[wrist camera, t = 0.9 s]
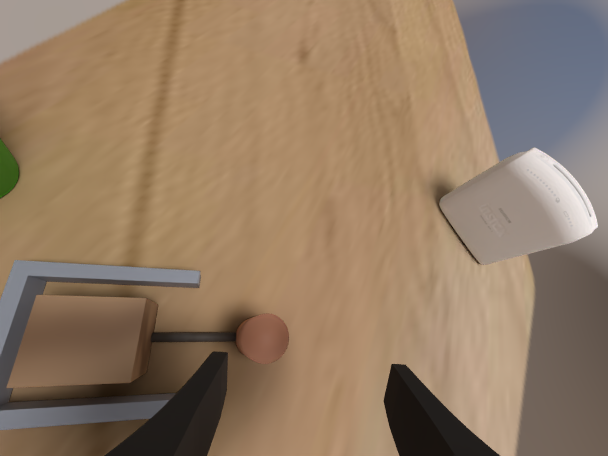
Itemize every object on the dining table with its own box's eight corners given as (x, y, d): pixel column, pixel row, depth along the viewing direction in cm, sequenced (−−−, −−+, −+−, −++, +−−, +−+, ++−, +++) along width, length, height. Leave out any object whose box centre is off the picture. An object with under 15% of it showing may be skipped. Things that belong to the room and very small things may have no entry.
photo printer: (431, 202, 37) (528, 145, 25) (451, 190, 38) (549, 132, 27) (479, 271, 35) (604, 243, 24) (497, 255, 37) (620, 222, 26)
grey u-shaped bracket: (184, 407, 22) (181, 416, 19) (-17, 421, 18) (-49, 433, 16) (200, 276, 25) (199, 270, 23) (34, 267, 22) (14, 260, 19)
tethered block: (270, 367, 24) (288, 377, 19) (51, 375, 20) (-7, 391, 14) (273, 307, 26) (289, 301, 21) (72, 302, 22) (26, 292, 16)
